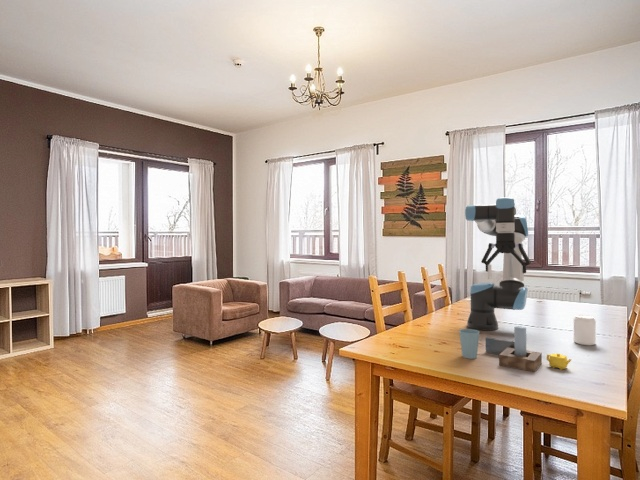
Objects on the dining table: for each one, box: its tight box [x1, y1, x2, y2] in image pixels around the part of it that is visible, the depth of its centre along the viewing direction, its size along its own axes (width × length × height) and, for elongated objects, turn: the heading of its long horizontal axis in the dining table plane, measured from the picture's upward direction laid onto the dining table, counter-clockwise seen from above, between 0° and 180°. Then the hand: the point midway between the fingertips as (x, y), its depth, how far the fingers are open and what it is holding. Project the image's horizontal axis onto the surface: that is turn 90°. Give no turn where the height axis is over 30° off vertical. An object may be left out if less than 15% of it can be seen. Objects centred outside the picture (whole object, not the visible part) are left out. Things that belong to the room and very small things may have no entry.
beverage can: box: [573, 314, 597, 346], centre depth 175 cm, size 8×8×12 cm
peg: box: [513, 325, 527, 357], centre depth 149 cm, size 4×4×14 cm
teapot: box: [546, 353, 572, 371], centre depth 145 cm, size 8×6×5 cm
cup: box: [459, 328, 480, 360], centre depth 159 cm, size 8×8×10 cm
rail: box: [485, 337, 515, 355], centre depth 160 cm, size 14×1×6 cm, turn 50°
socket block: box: [498, 347, 543, 373], centre depth 149 cm, size 12×12×4 cm
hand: (505, 279), depth 176 cm, fingers open, 13 cm apart
